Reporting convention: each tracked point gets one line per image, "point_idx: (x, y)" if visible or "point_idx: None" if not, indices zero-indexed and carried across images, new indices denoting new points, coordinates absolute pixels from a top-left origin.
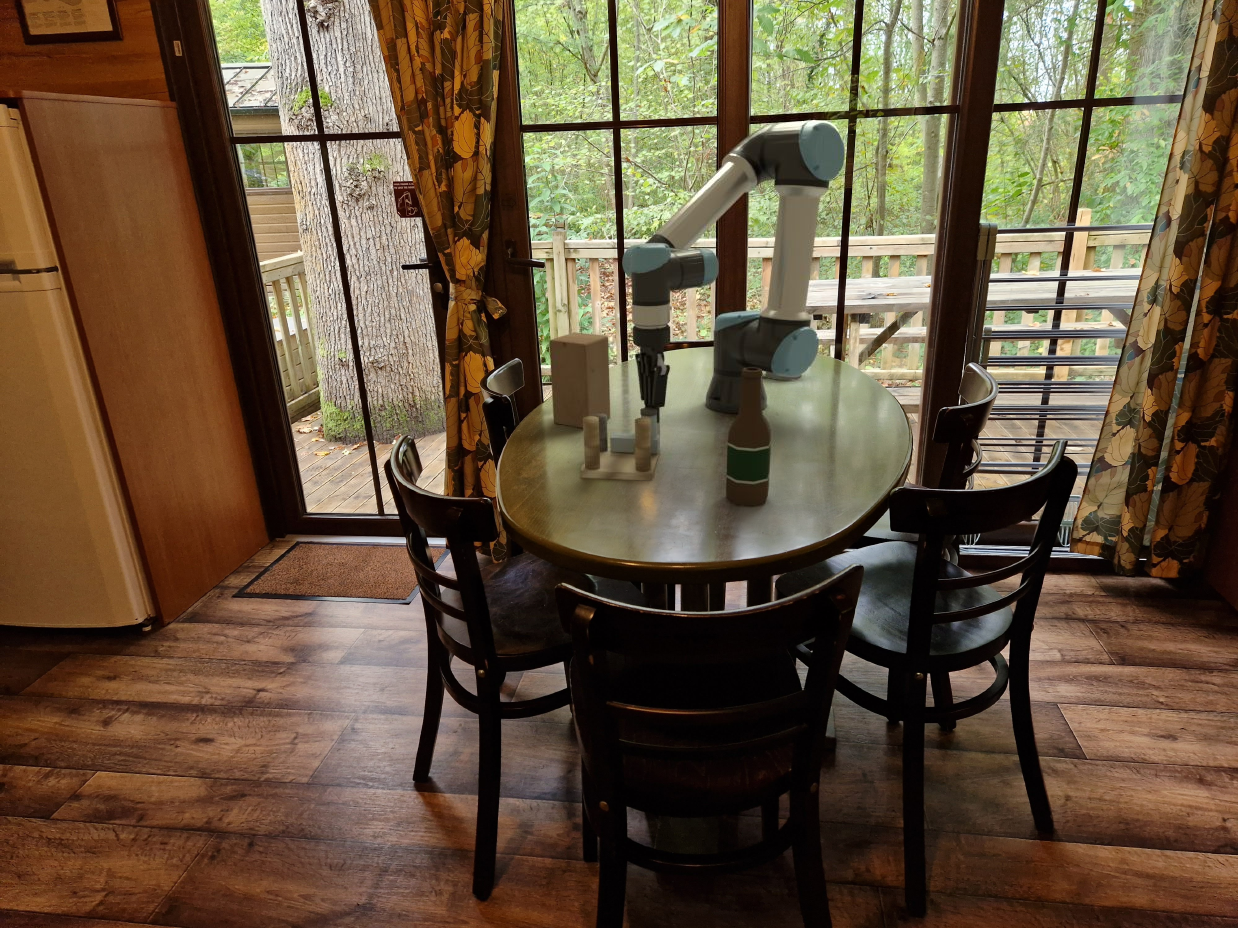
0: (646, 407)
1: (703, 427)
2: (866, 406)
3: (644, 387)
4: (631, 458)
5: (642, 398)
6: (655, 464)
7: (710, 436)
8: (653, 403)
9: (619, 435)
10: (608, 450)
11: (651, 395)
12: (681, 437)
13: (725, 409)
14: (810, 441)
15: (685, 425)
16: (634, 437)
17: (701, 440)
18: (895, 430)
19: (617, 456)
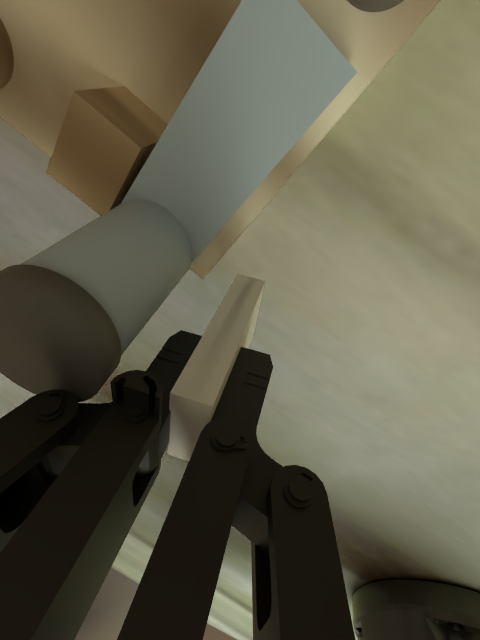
0: (100, 375)
1: (358, 498)
2: (248, 632)
3: (176, 621)
4: (135, 73)
5: (283, 484)
6: (46, 149)
7: (279, 463)
8: (13, 422)
9: (269, 90)
10: (338, 3)
11: (40, 505)
12: (330, 420)
13: (408, 589)
14: (140, 518)
15: (418, 491)
16: (175, 167)
17: (266, 433)
18: (136, 579)
19: (200, 1)
